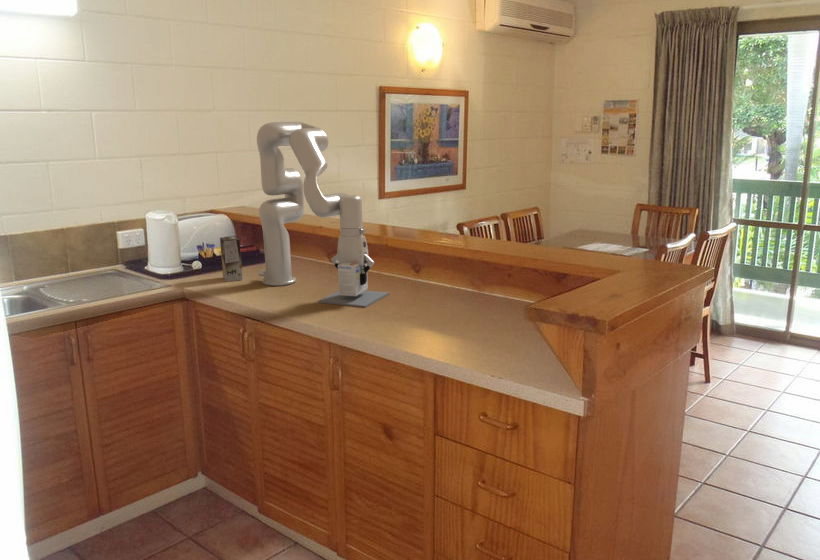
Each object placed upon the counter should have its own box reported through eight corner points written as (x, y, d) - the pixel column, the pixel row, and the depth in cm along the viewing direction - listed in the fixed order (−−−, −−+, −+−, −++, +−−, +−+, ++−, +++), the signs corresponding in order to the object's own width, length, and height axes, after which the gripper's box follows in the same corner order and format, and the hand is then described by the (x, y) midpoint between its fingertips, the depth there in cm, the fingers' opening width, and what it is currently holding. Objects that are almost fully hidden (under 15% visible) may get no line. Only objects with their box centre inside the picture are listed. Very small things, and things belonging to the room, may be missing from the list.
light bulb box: (351, 287, 242) (349, 257, 239) (368, 289, 240) (367, 258, 237) (338, 295, 232) (336, 264, 229) (356, 296, 230) (355, 265, 227)
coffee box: (243, 280, 265) (240, 239, 261) (226, 281, 263) (223, 240, 259) (238, 275, 273) (235, 235, 270) (222, 277, 271) (219, 237, 267)
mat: (318, 302, 232) (318, 300, 232) (343, 289, 248) (343, 288, 248) (365, 307, 225) (365, 305, 225) (388, 294, 241) (388, 292, 241)
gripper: (379, 231, 231) (380, 282, 235) (334, 229, 237) (336, 278, 242) (369, 235, 224) (371, 288, 228) (323, 232, 231) (325, 283, 235)
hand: (353, 282), depth 235 cm, fingers closed on light bulb box, 7 cm apart
